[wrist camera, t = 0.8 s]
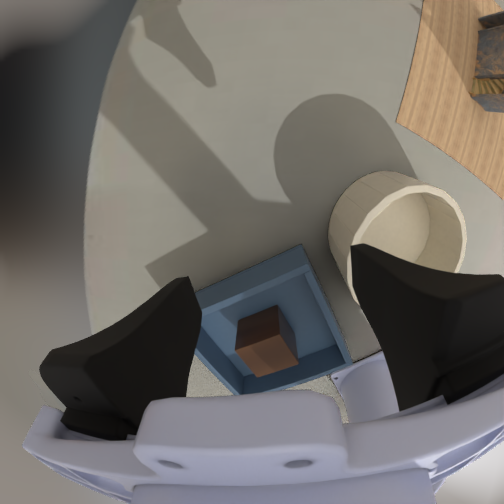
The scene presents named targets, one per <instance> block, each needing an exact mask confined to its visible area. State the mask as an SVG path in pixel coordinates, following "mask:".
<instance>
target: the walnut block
mask: <svg viewBox="0 0 504 504" xmlns="http://www.w3.org/2000/svg"><path fill="white" fill-rule="evenodd" d="M235 352H236V353H237V354H238V355H239V357H240V358H241V359H242V360H243V361H244V363H245V364H246V365H247V366H248V367H249V369H250V370H251V371H252V372H253V373H254V374H255V376H256V377H261V376H264V375H267V374H270V373H274V372H277V371H280V370H283V369H286V368H289V367H292V366H295V365H297V364H299V360H298V352H297V345H296V338H295V333H294V331H293V330H292V328H291V326H290V325H289V323H288V321H287V320H286V318H285V316H284V315H283V313H282V311H281V310H280V308H279V306H278V305H275V306H272V307H270V308H267V309H265V310H262V311H260V312H257V313H255V314H252V315H250V316H247V317H245V318H242V319H240V320H238V324H237V333H236V342H235Z"/></svg>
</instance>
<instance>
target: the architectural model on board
mask: <svg viewBox="0 0 504 504" xmlns="http://www.w3.org/2000/svg"><path fill="white" fill-rule="evenodd" d="M396 122H397V123H399V124H401V125H403V126H404V127H406V128H408V129H409V130H411V131H413V132H414V133H416V134H418V135H419V136H421V137H423V138H424V139H426V140H427V141H429V142H430V143H432V144H433V145H435V146H436V147H438V148H439V149H441V150H442V151H444V152H445V153H446V154H448V155H449V156H451V157H452V158H453V159H455V160H456V161H457V162H459V163H460V164H461V165H463V166H464V167H465V168H467V169H468V170H469V171H470V172H472V173H473V174H474V175H475V176H477V177H478V178H479V179H480V180H481V181H483V182H484V183H485V184H486V185H487V186H488V187H490V188H491V189H492V190H493V191H494V192H495V193H496V194H497V195H498V196H499V197H501V198H502V199H504V11H503V9H502V8H501V7H500V6H499V5H498V4H497V3H496V2H495V1H494V0H424V2H423V9H422V16H421V22H420V28H419V33H418V38H417V43H416V48H415V53H414V57H413V61H412V66H411V70H410V74H409V78H408V82H407V86H406V89H405V93H404V96H403V100H402V104H401V107H400V110H399V114H398V117H397V120H396Z"/></svg>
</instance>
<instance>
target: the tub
mask: <svg viewBox="0 0 504 504" xmlns="http://www.w3.org/2000/svg"><path fill="white" fill-rule="evenodd" d="M195 295H196V298H197V300H198V303H199V305H200V308H201V310H202V322H201V330H200V334H199V338H198V342H197V346H196V349H195V353H194V354H195V355H196V356H197V357H198V358H199V359H200V360H201V362H202V363H203V364H204V365H205V366H206V367H207V368H208V369H209V370H210V371H211V372H212V373H213V374H214V375H215V376H216V377H217V378H218V379H219V380H220V381H221V382H222V383H223V384H224V385H225V386H226V387H227V388H228V389H229V390H230V391H231V392H232V393H233V394H234V395H244V394H254V393H263V392H272V391H279V390H283V389H287V388H290V387H293V386H296V385H299V384H302V383H305V382H308V381H311V380H314V379H317V378H320V377H322V376H325V375H328V374H330V373H333V372H336V371H338V370H341V369H343V368H346V367H348V366H351V365H353V362H352V359H351V356H350V353H349V350H348V347H347V344H346V341H345V339H344V336H343V334H342V332H341V329H340V327H339V325H338V322H337V320H336V318H335V316H334V313H333V311H332V309H331V307H330V304H329V302H328V300H327V298H326V295H325V293H324V291H323V289H322V287H321V284H320V282H319V280H318V278H317V276H316V274H315V271H314V269H313V267H312V265H311V263H310V261H309V259H308V257H307V255H306V253H305V250H304V248H303V246H302V244H300V245H298V246H296V247H294V248H292V249H290V250H288V251H285V252H283V253H281V254H279V255H277V256H275V257H272V258H270V259H268V260H266V261H264V262H262V263H259V264H257V265H255V266H253V267H251V268H248V269H246V270H244V271H242V272H240V273H237V274H235V275H233V276H231V277H229V278H226V279H224V280H222V281H220V282H218V283H215V284H213V285H211V286H209V287H206V288H204V289H202V290H200V291H198V292H195ZM275 305H278V306H279V308H280V310H281V311H282V313H283V315H284V316H285V318H286V320H287V321H288V323H289V325H290V326H291V328H292V330H293V331H294V333H295V338H296V345H297V352H298V360H299V364H297V365H295V366H292V367H289V368H286V369H283V370H280V371H277V372H274V373H270V374H267V375H264V376H261V377H256V376H255V374H254V373H253V372H252V371H251V370H250V369H249V367H248V366H247V365H246V364H245V363H244V361H243V360H242V359H241V358H240V357H239V355H238V354H237V353H236V352H235V342H236V333H237V324H238V320H240V319H242V318H245V317H247V316H250V315H252V314H255V313H257V312H260V311H262V310H265V309H267V308H270V307H272V306H275Z"/></svg>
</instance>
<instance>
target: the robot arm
mask: <svg viewBox="0 0 504 504" xmlns="http://www.w3.org/2000/svg"><path fill="white" fill-rule="evenodd" d="M350 251H351V268H352V286H353V289H354V292H355V295H356V297H357V300H358V303H359V305H360V307H361V308H362V310H363V312H364V314H365V316H366V318H367V320H368V322H369V324H370V325H371V327H372V329H373V331H374V333H375V335H376V337H377V339H378V341H379V343H380V346H381V348H382V351H381V352H379V353H376V354H374V355H372V356H370V357H368V358H365V359H363V360H361V361H358V362H356V363H354V364H353V365H351V366H348V367H346V368H343V369H341V370H338V371H336V372H333V373H331V374H330V376H331V379H332V380H333V382H334V384H335V386H336V388H337V390H338V391H339V393H340V395H341V397H342V399H343V400H344V403H345V407H346V411H347V416H348V420H349V423H345V424H342V419H341V414H340V410H339V407H338V406H337V404H336V402H335V400H334V399H333V397H330V396H327V395H324V394H321V393H318V392H315V391H312V390H279V391H272V392H263V393H254V394H244V395H231V396H214V397H186V392H187V384H188V377H189V372H190V368H191V364H192V360H193V357H194V353H195V349H196V346H197V342H198V338H199V334H200V330H201V322H202V310H201V308H200V305H199V303H198V300H197V298H196V295H195V293H194V290H193V287H192V285H191V282H190V279H189V277H188V276H187V277H182V278H176V279H175V280H173V281H171V282H170V283H169V284H167V285H166V286H165V287H163V288H162V289H161V290H160V291H158V292H157V293H156V294H155V295H153V296H152V297H151V298H150V299H149V300H147V301H146V302H145V303H143V304H142V305H141V306H140V307H138V308H137V309H136V310H134V311H133V312H132V313H130V314H129V315H127V316H126V317H124V318H123V319H121V320H120V321H118V322H117V323H115V324H113V325H112V326H110V327H108V328H106V329H104V330H102V331H100V332H98V333H96V334H94V335H92V336H90V337H88V338H85V339H83V340H80V341H78V342H75V343H72V344H69V345H66V346H63V347H60V348H56V349H53V350H51V351H50V352H49V354H48V355H47V356H46V358H45V359H44V361H43V362H42V364H41V365H40V369H39V370H40V374H41V377H42V379H43V381H44V382H45V384H46V385H47V386H48V387H49V389H50V390H51V391H52V392H53V393H54V394H55V395H56V396H57V398H58V399H59V400H60V401H61V402H62V403H63V404H64V405H65V406H66V407H67V408H66V410H65V412H62V411H61V410H59V409H56V408H53V407H50V406H46V405H43V406H42V407H41V409H40V411H39V413H38V415H37V417H36V418H35V420H34V422H33V424H32V426H31V428H30V430H29V432H28V434H27V436H26V438H25V440H24V442H23V444H22V447H23V448H24V449H25V450H27V451H28V452H29V453H30V454H32V455H33V456H34V457H36V458H37V459H38V460H40V461H41V462H42V463H44V464H45V465H46V466H48V467H49V468H51V469H52V470H54V471H55V472H57V473H58V474H60V475H61V476H63V477H65V478H67V479H69V480H71V481H74V482H76V483H78V484H80V485H82V486H85V487H87V488H89V489H91V490H94V491H96V492H98V493H101V494H103V495H106V496H108V497H111V498H114V499H116V500H119V501H122V502H125V503H128V504H437V503H436V499H435V494H436V493H437V491H438V490H439V489H440V487H441V486H442V485H443V483H444V482H445V480H446V478H447V477H448V476H450V475H452V474H454V473H455V472H457V471H459V470H461V469H462V468H464V467H466V466H467V465H469V464H471V463H472V462H474V461H475V460H477V459H478V458H480V457H481V456H483V455H484V454H486V453H487V452H489V451H490V450H492V449H493V448H494V447H496V446H497V445H498V444H500V443H501V442H502V441H503V440H504V278H503V277H502V276H501V275H499V274H494V275H473V274H461V273H453V272H447V271H441V270H436V269H432V268H428V267H425V266H421V265H418V264H415V263H412V262H409V261H406V260H404V259H401V258H398V257H396V256H394V255H391V254H389V253H387V252H384V251H382V250H380V249H378V248H375V247H373V246H370V245H368V244H365V243H361V244H356V245H351V246H350Z"/></svg>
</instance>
